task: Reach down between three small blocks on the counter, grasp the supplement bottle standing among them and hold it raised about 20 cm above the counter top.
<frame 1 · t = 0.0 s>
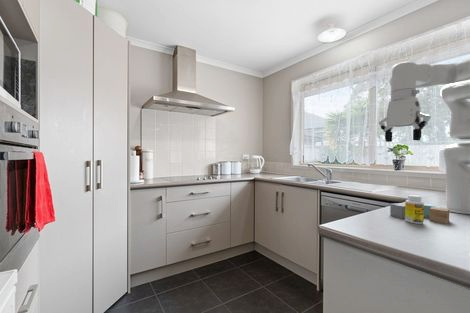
hand: (402, 141, 84), 31 cm above the counter, tool pointing down, fingers open, 9 cm apart
teal block: (426, 216, 93), on the counter
walnut block: (439, 221, 86), on the counter
gray block: (400, 216, 92), on the counter
supplement bottle: (414, 222, 84), on the counter
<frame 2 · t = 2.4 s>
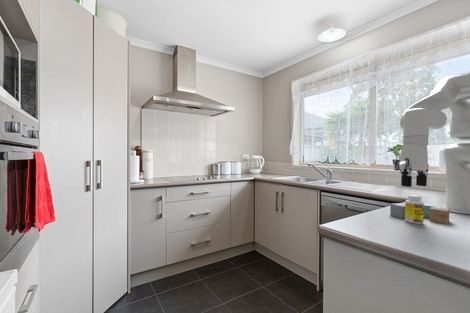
hand: (413, 186, 84), 14 cm above the counter, tool pointing down, fingers open, 9 cm apart
nothing on the counter moved.
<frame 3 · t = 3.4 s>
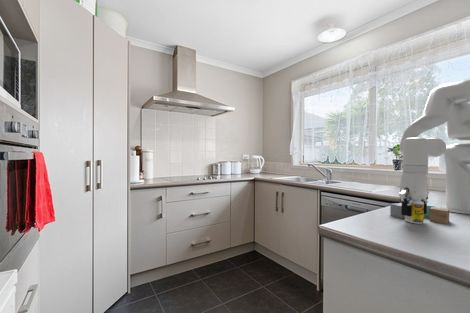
hand: (414, 214, 84), 3 cm above the counter, tool pointing down, fingers open, 9 cm apart
nothing on the counter moved.
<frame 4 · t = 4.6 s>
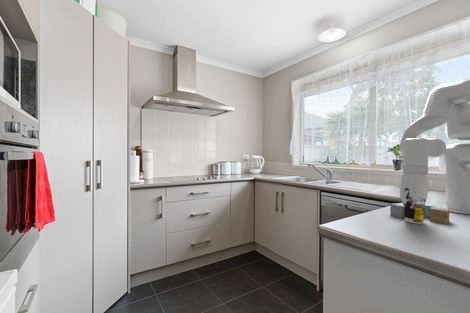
hand: (414, 216, 84), 2 cm above the counter, tool pointing down, fingers closed on supplement bottle, 5 cm apart
supplement bottle: (414, 222, 84), on the counter, touching gripper
everything else where it was.
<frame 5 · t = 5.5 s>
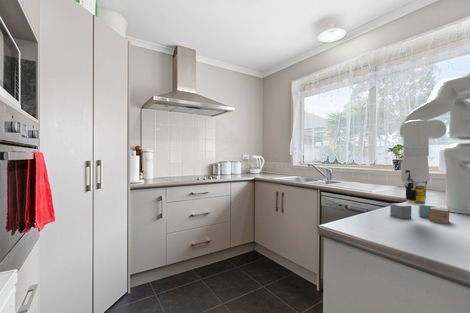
hand: (415, 198, 85), 9 cm above the counter, tool pointing down, fingers closed on supplement bottle, 5 cm apart
supplement bottle: (415, 204, 85), point 7 cm above the counter, touching gripper
everything else where it was.
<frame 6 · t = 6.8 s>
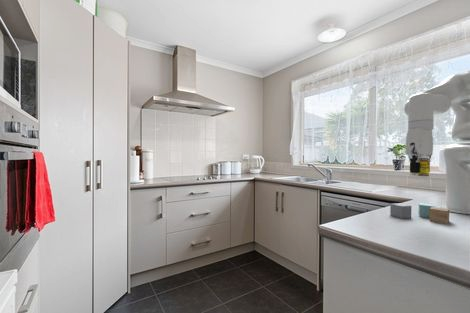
hand: (419, 172, 85), 19 cm above the counter, tool pointing down, fingers closed on supplement bottle, 5 cm apart
supplement bottle: (419, 177, 85), point 17 cm above the counter, touching gripper
everything else where it was.
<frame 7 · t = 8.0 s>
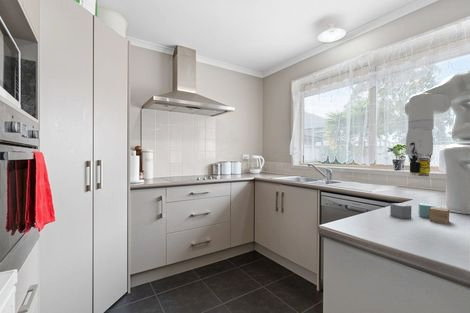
hand: (419, 171, 85), 19 cm above the counter, tool pointing down, fingers closed on supplement bottle, 5 cm apart
supplement bottle: (419, 177, 85), point 17 cm above the counter, touching gripper
everything else where it was.
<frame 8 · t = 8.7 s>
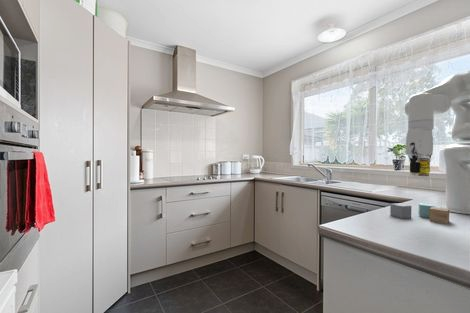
hand: (419, 171, 85), 19 cm above the counter, tool pointing down, fingers closed on supplement bottle, 5 cm apart
supplement bottle: (419, 177, 85), point 17 cm above the counter, touching gripper
everything else where it was.
at the end: the gripper is holding supplement bottle; supplement bottle point 17.0 cm above the counter; gray block moved 0.1 cm from its start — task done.
